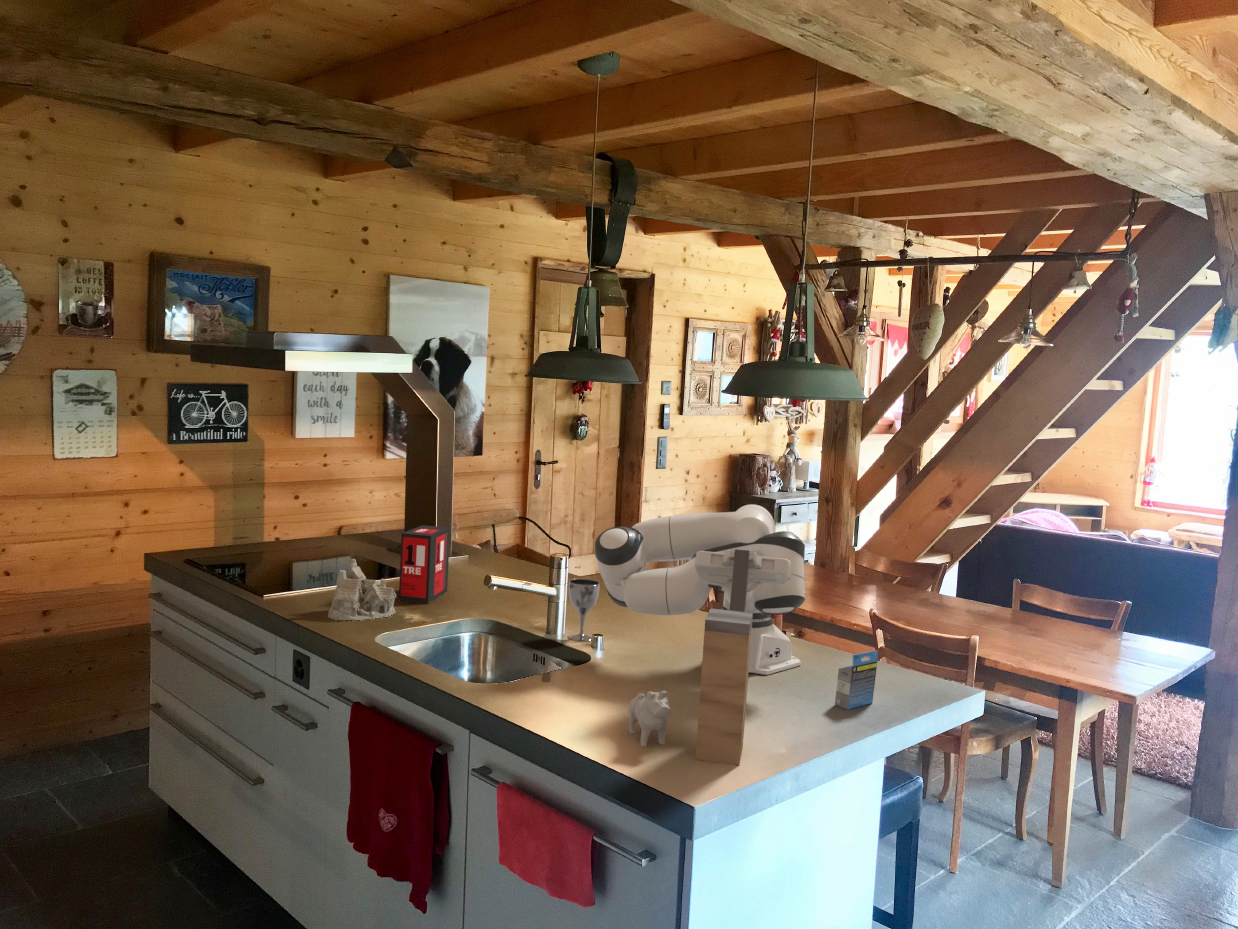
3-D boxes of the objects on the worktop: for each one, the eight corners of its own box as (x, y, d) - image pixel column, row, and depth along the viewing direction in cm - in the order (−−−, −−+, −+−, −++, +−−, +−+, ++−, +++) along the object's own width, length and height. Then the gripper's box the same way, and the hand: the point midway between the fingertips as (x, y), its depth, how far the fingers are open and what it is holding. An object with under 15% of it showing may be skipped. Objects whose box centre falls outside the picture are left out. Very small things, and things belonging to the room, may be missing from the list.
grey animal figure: (648, 754, 175) (652, 697, 174) (624, 728, 187) (627, 676, 186) (675, 751, 177) (679, 696, 176) (649, 726, 188) (652, 674, 187)
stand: (700, 741, 182) (710, 608, 180) (742, 747, 181) (752, 612, 178) (695, 759, 173) (705, 619, 171) (739, 765, 172) (750, 624, 170)
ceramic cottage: (318, 617, 253) (325, 562, 252) (352, 606, 269) (358, 554, 268) (370, 628, 249) (377, 572, 248) (401, 617, 265) (407, 564, 264)
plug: (731, 551, 202) (729, 547, 197) (754, 553, 201) (754, 549, 197) (722, 643, 197) (721, 642, 193) (746, 646, 196) (745, 645, 192)
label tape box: (859, 698, 214) (863, 645, 213) (874, 704, 211) (879, 649, 210) (834, 705, 208) (838, 650, 207) (849, 710, 205) (853, 655, 204)
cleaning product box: (419, 589, 293) (422, 525, 291) (447, 592, 292) (450, 527, 290) (398, 601, 277) (401, 533, 275) (428, 604, 275) (431, 536, 274)
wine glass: (596, 634, 254) (599, 579, 252) (596, 642, 246) (599, 585, 245) (566, 633, 253) (569, 577, 252) (565, 641, 246) (569, 584, 244)
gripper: (789, 594, 207) (791, 573, 194) (696, 585, 211) (691, 564, 198) (792, 567, 209) (793, 544, 197) (699, 558, 213) (695, 535, 201)
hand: (741, 554), depth 198 cm, fingers closed on plug, 3 cm apart
